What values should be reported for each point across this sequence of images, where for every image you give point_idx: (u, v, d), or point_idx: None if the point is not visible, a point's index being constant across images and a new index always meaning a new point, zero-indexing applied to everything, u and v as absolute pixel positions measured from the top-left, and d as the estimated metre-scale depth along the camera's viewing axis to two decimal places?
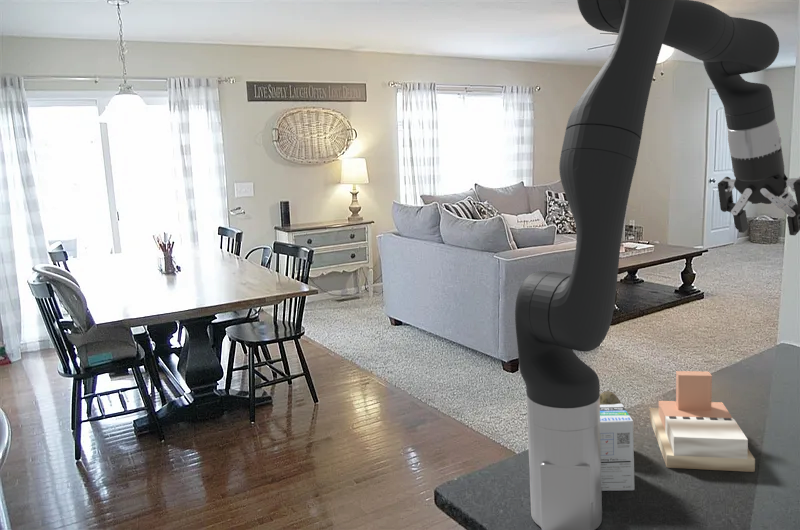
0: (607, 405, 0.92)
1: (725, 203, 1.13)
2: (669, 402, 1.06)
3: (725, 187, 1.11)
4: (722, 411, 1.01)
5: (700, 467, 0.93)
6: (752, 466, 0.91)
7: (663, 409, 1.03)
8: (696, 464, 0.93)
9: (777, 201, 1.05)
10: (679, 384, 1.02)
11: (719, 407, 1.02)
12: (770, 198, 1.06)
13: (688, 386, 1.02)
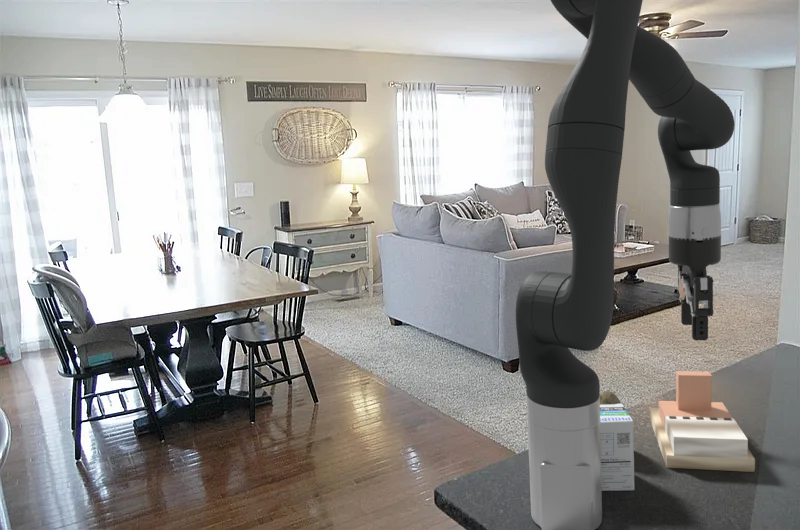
0: (607, 405, 0.92)
1: None
2: (669, 402, 1.06)
3: (681, 269, 1.05)
4: (722, 411, 1.01)
5: (700, 467, 0.93)
6: (752, 466, 0.91)
7: (663, 409, 1.03)
8: (696, 464, 0.93)
9: (686, 294, 0.97)
10: (679, 384, 1.02)
11: (719, 407, 1.02)
12: (685, 289, 0.98)
13: (688, 386, 1.02)
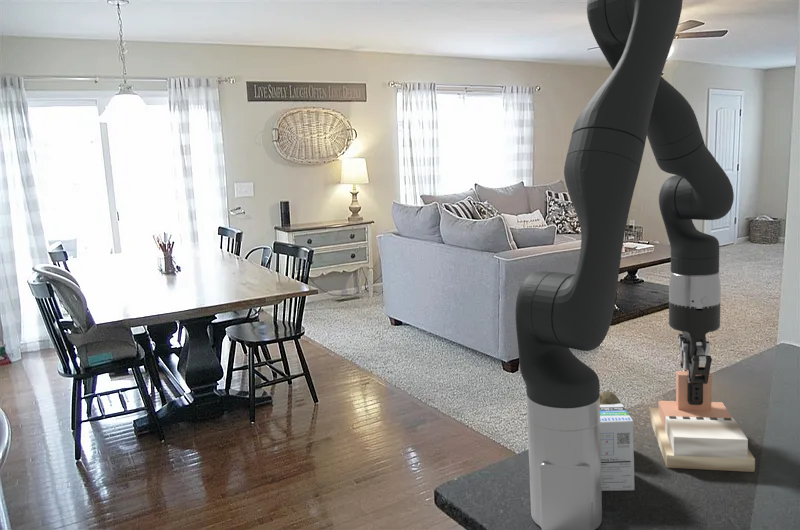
0: (607, 405, 0.92)
1: None
2: (669, 402, 1.06)
3: None
4: (722, 411, 1.01)
5: (700, 467, 0.93)
6: (752, 466, 0.91)
7: (663, 409, 1.03)
8: (696, 464, 0.93)
9: (684, 361, 1.00)
10: (679, 384, 1.02)
11: (719, 407, 1.02)
12: (683, 354, 1.01)
13: None
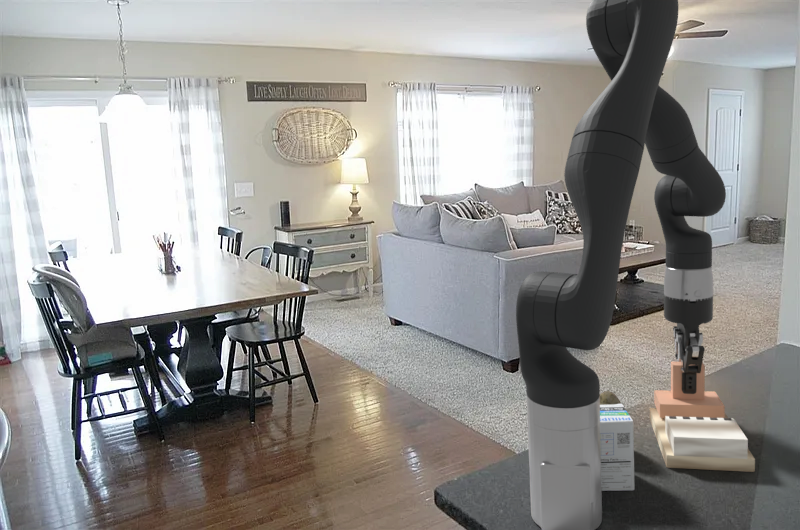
0: (607, 405, 0.92)
1: None
2: (664, 391, 1.10)
3: None
4: (714, 400, 1.05)
5: (700, 467, 0.93)
6: (752, 466, 0.91)
7: (658, 398, 1.08)
8: (696, 464, 0.93)
9: (679, 352, 1.05)
10: (674, 374, 1.07)
11: (712, 396, 1.07)
12: (678, 345, 1.05)
13: None
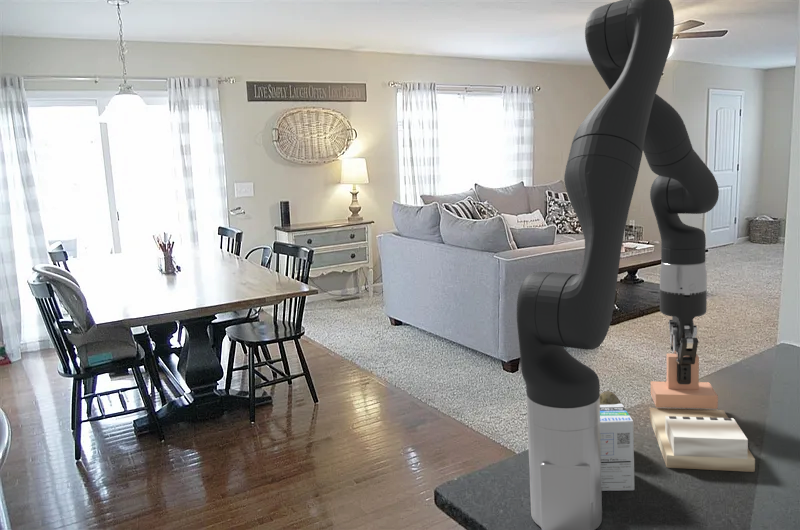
0: (607, 405, 0.92)
1: None
2: (660, 382, 1.15)
3: None
4: (708, 390, 1.10)
5: (700, 467, 0.93)
6: (752, 466, 0.91)
7: (654, 388, 1.12)
8: (696, 464, 0.93)
9: (674, 344, 1.09)
10: (669, 365, 1.11)
11: (706, 386, 1.11)
12: (673, 337, 1.10)
13: None
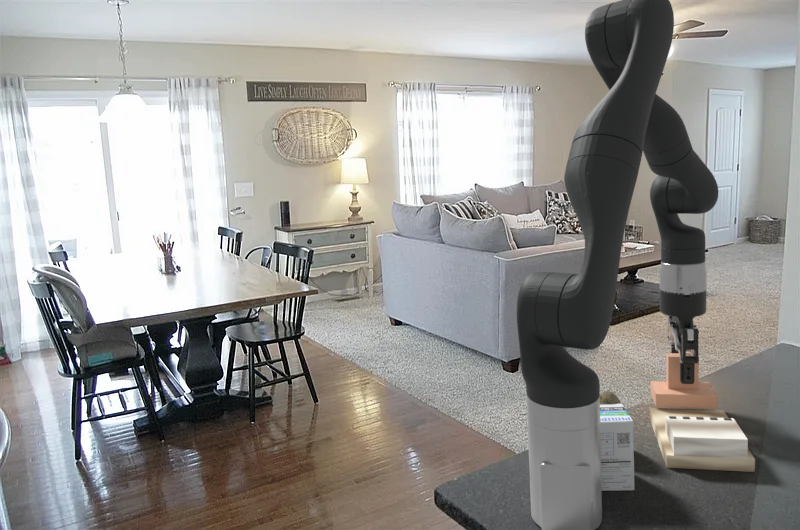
0: (607, 405, 0.92)
1: None
2: (660, 382, 1.15)
3: (671, 316, 1.16)
4: (708, 390, 1.10)
5: (700, 467, 0.93)
6: (752, 466, 0.91)
7: (654, 388, 1.12)
8: (696, 464, 0.93)
9: (675, 342, 1.08)
10: (669, 365, 1.11)
11: (706, 386, 1.11)
12: (674, 337, 1.09)
13: (677, 367, 1.11)
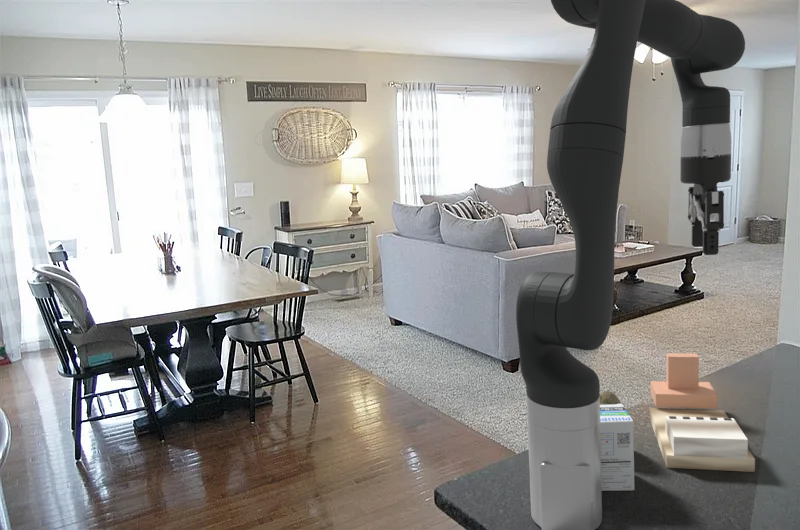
0: (607, 405, 0.92)
1: None
2: (660, 382, 1.15)
3: (691, 193, 1.09)
4: (708, 390, 1.10)
5: (700, 467, 0.93)
6: (752, 466, 0.91)
7: (654, 388, 1.12)
8: (696, 464, 0.93)
9: (698, 211, 1.01)
10: (669, 365, 1.11)
11: (706, 386, 1.11)
12: (696, 207, 1.02)
13: (677, 367, 1.11)
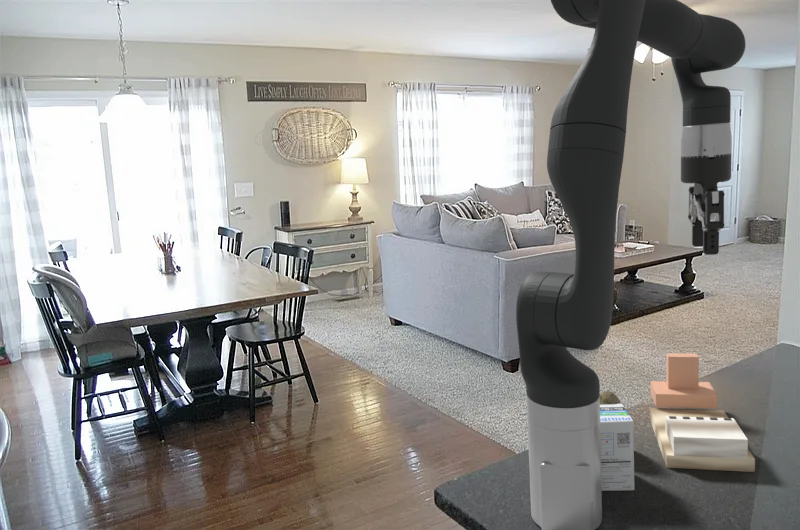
0: (607, 405, 0.92)
1: (690, 210, 1.10)
2: (660, 382, 1.15)
3: (692, 193, 1.09)
4: (708, 390, 1.10)
5: (700, 467, 0.93)
6: (752, 466, 0.91)
7: (654, 388, 1.12)
8: (696, 464, 0.93)
9: (698, 211, 1.01)
10: (669, 365, 1.11)
11: (706, 386, 1.11)
12: (696, 207, 1.02)
13: (677, 367, 1.11)
